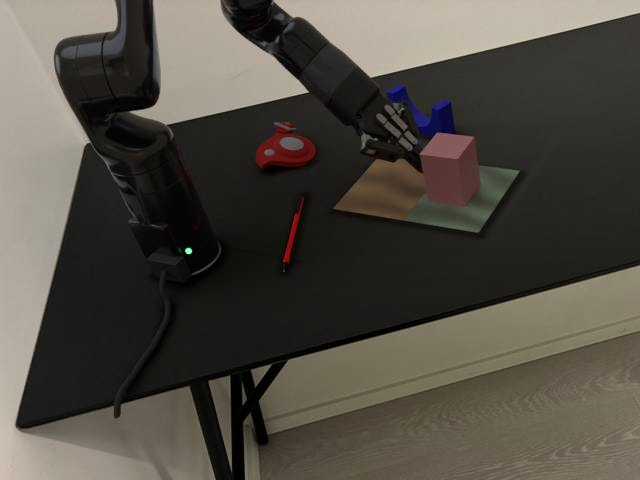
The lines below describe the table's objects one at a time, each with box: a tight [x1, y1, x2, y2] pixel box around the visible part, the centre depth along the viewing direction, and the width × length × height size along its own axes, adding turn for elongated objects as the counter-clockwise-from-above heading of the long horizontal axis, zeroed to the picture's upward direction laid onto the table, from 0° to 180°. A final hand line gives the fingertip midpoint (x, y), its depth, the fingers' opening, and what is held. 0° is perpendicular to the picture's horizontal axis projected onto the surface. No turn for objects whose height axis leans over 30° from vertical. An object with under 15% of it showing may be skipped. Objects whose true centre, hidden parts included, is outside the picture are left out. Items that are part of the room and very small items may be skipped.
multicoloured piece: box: [332, 158, 521, 234], centre depth 127 cm, size 16×24×1 cm, turn 65°
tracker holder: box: [254, 121, 317, 171], centre depth 138 cm, size 12×4×10 cm
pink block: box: [420, 133, 481, 207], centre depth 122 cm, size 6×6×8 cm
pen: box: [282, 195, 305, 273], centre depth 123 cm, size 1×19×1 cm, turn 179°
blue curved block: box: [386, 83, 456, 138], centre depth 138 cm, size 12×4×6 cm, turn 47°
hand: (429, 168), depth 124 cm, fingers closed
